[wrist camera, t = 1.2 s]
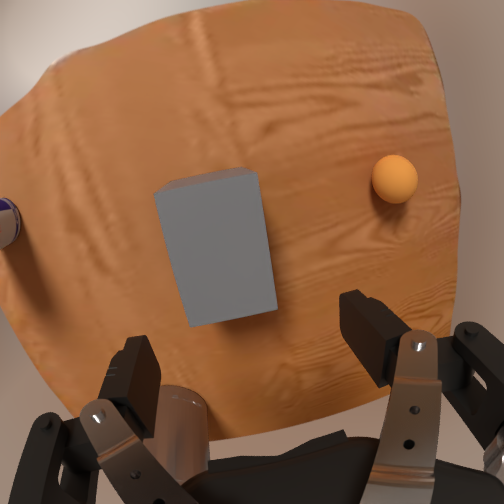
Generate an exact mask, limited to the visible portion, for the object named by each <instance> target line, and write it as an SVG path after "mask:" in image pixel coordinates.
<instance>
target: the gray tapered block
mask: <svg viewBox="0 0 504 504" xmlns="http://www.w3.org/2000/svg"><path fill="white" fill-rule="evenodd" d="M154 198H155V202H156V206H157V211H158V215H159V219H160V223H161V227H162V231H163V235H164V239H165V243H166V247H167V251H168V254H169V258H170V262H171V265H172V269H173V273H174V276H175V280H176V283H177V286H178V290H179V293H180V297H181V300H182V303H183V306H184V310H185V313H186V316H187V319H188V322H189V325H190V327H195V326H201V325H206V324H211V323H216V322H221V321H226V320H231V319H236V318H241V317H246V316H250V315H255V314H259V313H264V312H268V311H273V310H277V309H278V306H277V299H276V292H275V285H274V278H273V272H272V265H271V258H270V252H269V245H268V239H267V232H266V226H265V219H264V213H263V207H262V200H261V194H260V188H259V182H258V176H257V172H254V171H251V170H249V169H246V168H243V167H238V168H233V169H227V170H222V171H217V172H212V173H207V174H202V175H197V176H192V177H188V178H183V179H179V180H174V181H170V182H169V183H168V184H166V185H165V186H163V187H162V188H161V189H159V190H158V191H157V192H155V193H154Z"/></svg>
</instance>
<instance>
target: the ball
mask: <svg viewBox="0 0 504 504" xmlns="http://www.w3.org/2000/svg"><path fill="white" fill-rule="evenodd" d="M372 185H373V188H374V190H375V192H376V193H377V194H378V196H379V197H381V198H382V199H383V200H385V201H387V202H389V203H394V204H398V203H403V202H405V201H407V200H409V199H410V198H411V197H412V196H413V195H414V193H415V191H416V189H417V185H418V176H417V172H416V170H415V168H414V166H413V165H412V164H411V163H410V162H409V161H408V160H407V159H405V158H403V157H401V156H397V155H389V156H386V157H383V158H382V159H380V160H379V161H378V162H377V163H376V165H375V166H374V168H373V171H372Z"/></svg>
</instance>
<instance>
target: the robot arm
mask: <svg viewBox="0 0 504 504" xmlns="http://www.w3.org/2000/svg"><path fill="white" fill-rule="evenodd" d="M339 308H340V330H341V334H342V336H343V338H344V340H345V341H346V343H347V344H348V345H349V347H350V348H351V349H352V351H353V352H354V354H355V355H356V356H357V358H358V359H359V361H360V362H361V364H362V365H363V366H364V368H365V369H366V371H367V372H368V373H369V375H370V376H371V378H372V379H373V381H374V382H375V383H376V385H377V386H378V388H381V387H384V386H386V385H388V384H389V385H390V387H391V392H390V397H389V402H388V406H387V411H386V415H385V420H384V423H383V427H382V431H381V434H380V438H379V439H376V438H371V437H347V436H346V434H345V432H344V430H340V431H337V432H334V433H331V434H328V435H325V436H322V437H318V438H315V439H312V440H310V441H308V442H306V443H304V444H302V445H300V446H298V447H296V448H294V449H292V450H290V451H288V452H286V453H284V454H281V455H278V456H237V457H231V458H224V459H217V460H210V452H209V437H208V419H207V406H206V403H205V401H204V400H203V399H202V398H201V397H200V396H199V395H198V394H196V393H195V392H193V391H191V390H189V389H186V388H183V387H178V386H160V382H161V370H160V366H159V363H158V361H157V359H156V356H155V354H154V352H153V349H152V347H151V345H150V342H149V340H148V338H147V336H146V335H141V336H135V337H128V338H127V340H126V343H125V346H124V349H123V350H120V351H118V352H117V353H116V354H115V356H114V357H113V358H112V359H111V362H110V365H109V367H108V368H109V369H108V370H107V373H106V376H105V378H104V381H103V384H102V387H101V390H100V393H99V396H98V399H97V400H93V401H91V402H89V403H88V404H87V405H85V406H84V407H83V409H82V410H81V412H80V417H77V418H74V419H70V420H67V421H62V419H61V418H60V417H59V415H57V414H56V413H53V412H48V413H45V414H42V415H41V416H39V417H38V418H37V419H36V420H35V421H34V423H33V425H32V428H31V430H30V433H29V436H28V438H27V441H26V444H25V447H24V450H23V453H22V456H21V459H20V462H19V465H18V469H17V472H16V475H15V479H14V482H13V486H12V490H11V494H10V498H9V502H8V504H95V502H96V492H97V482H98V475H99V470H100V469H102V470H103V471H104V473H105V475H106V476H107V478H108V479H109V481H110V483H111V484H112V486H113V487H114V489H115V490H116V492H117V493H118V495H119V496H120V498H121V499H122V501H123V502H124V503H125V504H504V344H503V343H501V342H500V341H499V340H498V339H497V338H496V337H495V336H494V335H492V334H491V333H490V332H489V331H488V330H487V329H485V328H484V327H483V326H482V325H480V324H478V323H475V322H462V323H460V324H458V325H457V326H456V328H455V331H454V335H453V336H449V337H443V338H437V339H436V338H435V336H434V335H433V334H431V333H429V332H427V331H424V330H412V329H411V328H410V327H408V326H407V325H406V324H405V323H404V322H403V321H402V320H401V319H400V318H399V317H398V316H397V315H396V314H394V313H393V312H392V311H391V310H390V309H388V307H387V306H386V305H385V304H384V303H382V302H381V301H379V300H377V299H374V298H372V297H370V298H367V297H366V296H365V295H364V294H362V293H361V292H360V291H359V290H358V289H356V290H353V291H349V292H345V293H342V294H340V297H339ZM475 371H476V372H477V373H478V375H479V376H480V377H481V378H482V379H483V380H484V381H485V383H486V386H487V390H486V389H485V388H484V387H483V386H482V385H481V384H480V382H479V381H478V380H477V379H476V378H475V377H474V376H473V375H474V373H475ZM441 392H442V393H443V394H444V396H445V397H446V398H447V400H448V401H449V402H450V404H451V405H452V406H453V407H454V409H455V410H456V412H457V413H458V414H459V416H460V417H461V418H462V420H463V421H464V422H465V424H466V425H467V427H468V428H469V429H470V431H471V432H472V434H473V435H474V436H475V438H476V439H477V441H478V442H479V443H480V445H481V446H482V448H483V449H484V451H485V452H484V456H483V461H484V471H480V470H475V469H471V468H467V467H463V466H459V465H456V464H452V463H449V462H445V461H442V460H438V459H436V452H437V444H438V436H439V425H440V412H441ZM61 464H62V465H63V466H64V468H63V472H62V478H61V483H60V485H59V482H58V475H59V470H60V466H61Z"/></svg>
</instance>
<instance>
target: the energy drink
mask: <svg viewBox="0 0 504 504" xmlns="http://www.w3.org/2000/svg"><path fill="white" fill-rule="evenodd" d="M19 231H20V216H19V213H18V210H17V208H16V206H15V205H14V203H13V202H12V201H10V200H9V199H7V198H0V249H2V248H4V247H5V246H7V245H9V244H10V243H12V242H13V241H15V240H16V238H17V236H18V234H19Z"/></svg>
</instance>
